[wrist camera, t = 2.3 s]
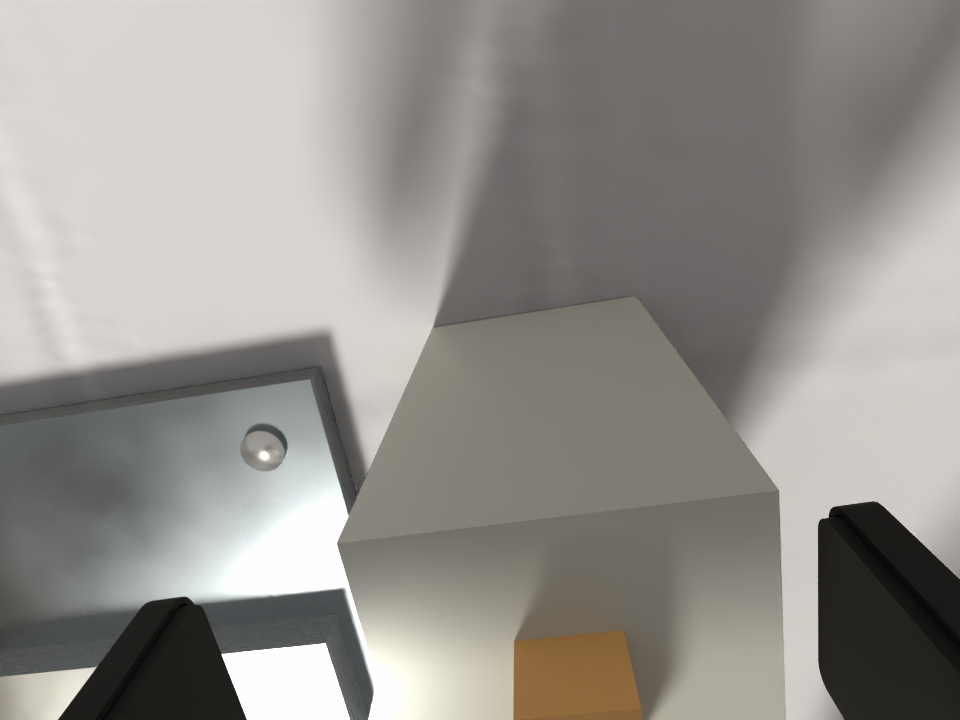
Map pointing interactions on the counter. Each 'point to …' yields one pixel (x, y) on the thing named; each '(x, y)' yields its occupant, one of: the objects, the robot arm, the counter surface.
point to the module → (566, 532)
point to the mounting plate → (183, 542)
